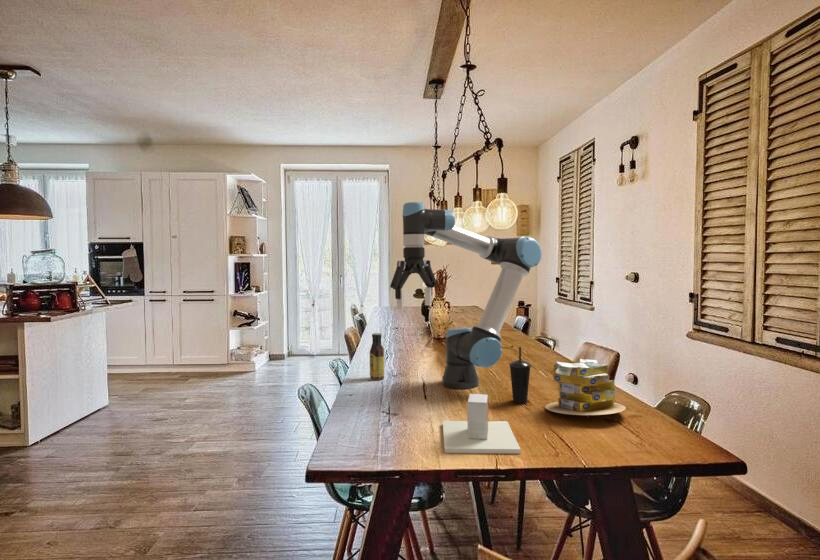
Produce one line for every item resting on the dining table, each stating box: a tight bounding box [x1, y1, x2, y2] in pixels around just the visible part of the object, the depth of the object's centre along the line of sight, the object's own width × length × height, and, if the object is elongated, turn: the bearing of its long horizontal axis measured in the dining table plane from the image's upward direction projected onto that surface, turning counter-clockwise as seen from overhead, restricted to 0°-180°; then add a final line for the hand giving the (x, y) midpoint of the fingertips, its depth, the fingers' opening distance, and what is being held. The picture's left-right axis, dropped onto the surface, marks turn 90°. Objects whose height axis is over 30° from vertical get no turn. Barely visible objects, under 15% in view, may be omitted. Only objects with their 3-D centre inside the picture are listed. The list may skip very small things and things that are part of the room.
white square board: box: [442, 420, 522, 455], centre depth 128 cm, size 20×20×1 cm
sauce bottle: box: [369, 332, 385, 381], centre depth 191 cm, size 7×6×20 cm
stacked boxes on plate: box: [544, 361, 627, 419], centre depth 148 cm, size 25×25×17 cm
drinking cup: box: [508, 346, 532, 405], centre depth 159 cm, size 8×8×20 cm
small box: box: [466, 393, 489, 439], centre depth 128 cm, size 8×6×10 cm
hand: (414, 307), depth 157 cm, fingers open, 13 cm apart
